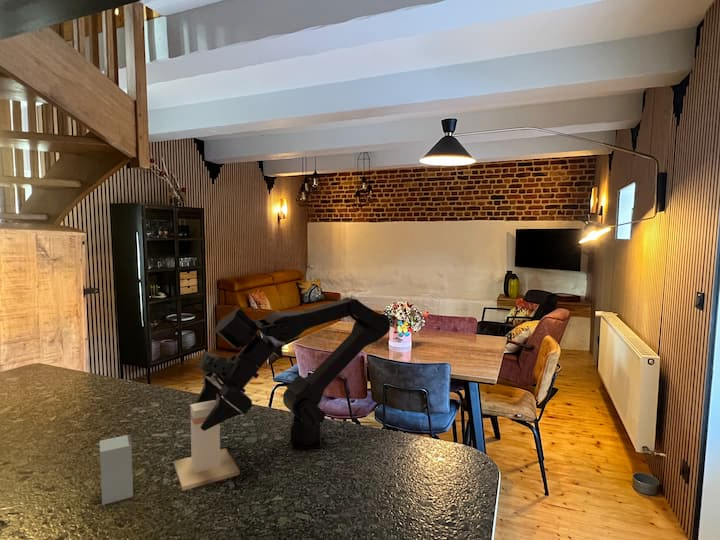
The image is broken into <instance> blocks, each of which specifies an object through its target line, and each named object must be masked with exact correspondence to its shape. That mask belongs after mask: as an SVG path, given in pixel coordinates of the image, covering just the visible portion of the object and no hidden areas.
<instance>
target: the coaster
mask: <svg viewBox="0 0 720 540" xmlns="http://www.w3.org/2000/svg"><path fill="white" fill-rule="evenodd" d="M172 462H173V463H172V464H173V467H174V470H175V473H176V475H177V476H176V477H177V479H178V481H179V484H180V488H181V490H182V491H183V492H185V491H186V490H191V489H194V488H197V487H201V486H204V485H208V484H211V483H215V482H218V481H222V480H225V479H230V478H232V477H235V476H239V475H240V473H241V472H240V471H241V470H240V469H239V467H238V466H237V464H236V463H235V461H234V459H233V458H232V456H231V455H230V453H229V452H228V449H227V448H226V447H225V448H220V467H218V468H214V469H210V470H206V471H203V472H199V473H195V472H194V469H193V466H192V456H188V457H184V458H180V459H177V460H173V461H172Z"/></svg>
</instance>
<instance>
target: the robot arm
mask: <svg viewBox="0 0 720 540" xmlns="http://www.w3.org/2000/svg"><path fill="white" fill-rule="evenodd" d="M347 317H350V318H351V319H352V320H353V321H354V323H353V327H352V329H351V332H350V334H349V335H348V336H347V337H346V338H345V339H344V340H343V341H342V342H341V343H340V344H339V345H338V346H337V347H336V348H335V349H334V350H333V351H332V352H331V353H330V354H329V356H328V357H326V358H325V360H324V361H323V362H322V363H321V364H320V365H319V366H318V367H316V368H315V370H314V371H313V372H312V373H311V374H309V375H307V376H305V377H303V376H302V375H301V374H298V375H297V376H295V378H294V379H293V381H291V383H289V384H287V385H286V386H285V387H286V389H285V391H284V393H283V395H282V403H283V406H285V407H286V408H287V409H288V411H290V412H291V414H292V415H293V420H292V421H291V423H290V443H291V444H292V450H311V449H313V450H315V449H322V440H321V423H324V421H325V418H326V412H325V411H324V410H322V409H321V408H320V407H319V405H320V403H321V402H322V399H323V396H324V392H325V390H326V389H327V387H328V386H330V384H331V383H332V382H333V381H334V380H335V379H337V377H338V376H339V375H340V373H342V372H343V370H345V368H347V366H348V365H350V363H351V362H352V361H353V360H354V359H355V358H356V357H357V356H358V355H359V354H360V352H361V351H363V350H364V349H365V348H366V347H367V346H370V345H372V344H374V343H377V342H378V341H379V340H381V339H383V338H384V337H385V336H387V334H388V333H389V332H390V330H391V320H390V319H389V316H387V315H386V314H385V313H381V312H378V311H375V310H373V309H372V308H370V307H368V306H367V305H365V304H364V303H362V302H361V301H360V300H359V299H357V298H352V297H343V298H342V299H340V300H336V301H332V302H328V303H324V304H322V305H317V306H315V307H311V308H310V307H309V308H307V309H303V310H294V311H293V310H286V311H284V310H283V311H275V312H272V313H268V315H267V317H263V318H261V319H256V320H253V319H251V318H250V317H249V316H248V315H247V314H246V312H245V311H244V310H243V309H241V308H240V307H236V308H235V309H234V310H233V311H231V312H229V313H228V314H227V315H225V316H223V317H222V318H221V319H220V320H219V322H218V323H217V325H216V326H215V328H214V331H215V333H217V334H218V335H219V336H220V337H221V338H223V339H224V340H225V341H226V342H228V343H229V344H230V345H231V346H232V347H233V348H235V349H236V348H240V347H241V348H242V349H241V350H240V352H238V354H237V355H236V354H235V353H234V354H231V355H229V357H227V356H225V355H220V354H216V353H213V352H209V351H206V350H204V351H203V353H202V356H201V358H200V360H199V362H198V364H197V367H200V370H201V371H202V372H203V375H202V381H203V386H202V389H201V391H200V393H199V394H198V397H197V399H196V401H195V403H201V402H206V401H212V400H216V405H215V406H214V408H213V409H212V411H211V412H210V413H209V415H208V416H207V418H206V419H205V421H204V422H203V424H202V425H201V427H200V428H201V429H202V430H203V431H205V430H207V429H209V428H211V427H213V426H215V425H217V424H219V423H220V424H221V423H223V422H225V421H227V420H229V419H232V418H234V417H236V416H241V415H242V414H244V415H246V414H247V413H248V412H249V411H250V410H251V408H252V407H253V400H252V399H251V398H250V397H249V396H248V395H247V394H246V393H245V392H247V391H246V389H245V387H246V386H247V385H248V383H250V382H251V380H252V379H253V378H254V379H258V377H259V376H260V374H259V373H258V372H259V371H260V369H261V368H262V367H263V366H264V365H265V364H266V363H267V361H268V360H269V359H270V358H271V357H272V356H273V355H275V356H277V357H278V358H280V359H281V358H283V357H284V355H283V345H282V344H280V343H286V342H288V341H291V340H293V339H294V338H296V337H298V336H301V335H302V334H303V333H304V332H305V331H307V330H309V329H311V328H313V327H317V326H320V325H324V324H327V323H330V322H334V321H337V320H341V319H344V318H347ZM257 332H258V333H260V334H261V335H263V337H261V336H260V335H259V334H257ZM269 337H270V338H273V339H274V340H276V341H278V342H280V343H275V342H273V340H272V339H270V338H269Z"/></svg>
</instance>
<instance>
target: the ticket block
mask: <svg viewBox="0 0 720 540" xmlns="http://www.w3.org/2000/svg"><path fill="white" fill-rule="evenodd" d="M132 450H133V449H132V441H131V436H130V434H125V435H120V436H117V437H111V438H107V439H103V440H101V439H100V440H99V459H100V460H99V462H100V487H101V488H100V489H101V506H105V505H108V504H112V503H115V502H119V501H122V500H127V499H130V498H133V497H134V486H133V484H134V483H133V482H134V481H133V479H134V478H133V451H132Z"/></svg>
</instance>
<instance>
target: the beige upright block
mask: <svg viewBox="0 0 720 540" xmlns="http://www.w3.org/2000/svg"><path fill="white" fill-rule="evenodd" d="M215 405H216V400H212V401H206V402H201V403H196V402H194V403H192V404H191V403H190V406H189V407H190V409H189V410H190V441H191V443H190V444H191V445H190V446H191V447H190V449H191V450H190V451H191V452H190V453H191V457H192V466H193V469H194V472H195V473H199V472H203V471H206V470H210V469H214V468H218V467H220V449H221V428H220V426H221V423H219V424H217V425H215V426H213V427H211V428H209V429H207V430H205V431H203V430H202V429H201V428H200V427H201V425H202V424H203V422H204V421H205V419H206V418H207V416H208V415H209V413H210V412H211V411H212V409H213V408H214V406H215Z"/></svg>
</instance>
